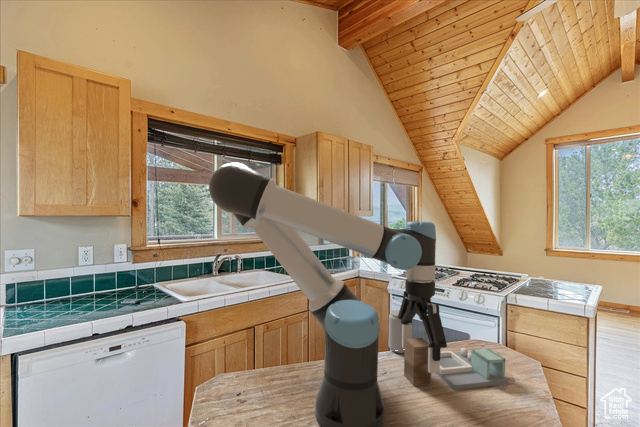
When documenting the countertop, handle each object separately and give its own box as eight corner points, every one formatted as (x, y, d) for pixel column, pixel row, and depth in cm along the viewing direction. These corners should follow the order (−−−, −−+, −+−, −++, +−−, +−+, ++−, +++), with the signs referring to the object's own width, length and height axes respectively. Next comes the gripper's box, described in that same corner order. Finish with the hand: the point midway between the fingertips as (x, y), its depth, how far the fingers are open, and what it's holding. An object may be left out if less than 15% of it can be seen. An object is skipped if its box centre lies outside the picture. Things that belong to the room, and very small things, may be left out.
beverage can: (409, 355, 94) (410, 317, 94) (388, 352, 96) (389, 315, 96) (407, 346, 101) (408, 310, 101) (388, 344, 102) (388, 308, 102)
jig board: (453, 390, 76) (453, 377, 76) (420, 359, 92) (420, 348, 92) (508, 383, 80) (508, 371, 80) (467, 355, 95) (467, 344, 95)
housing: (486, 378, 80) (487, 360, 79) (470, 366, 85) (471, 349, 85) (504, 376, 81) (505, 358, 81) (488, 365, 87) (488, 348, 87)
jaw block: (413, 385, 78) (414, 347, 78) (403, 375, 83) (405, 338, 83) (430, 383, 79) (431, 345, 79) (420, 373, 84) (421, 337, 84)
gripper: (463, 291, 69) (462, 383, 69) (409, 269, 94) (409, 337, 94) (434, 292, 68) (433, 387, 68) (387, 270, 92) (386, 339, 92)
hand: (419, 358), depth 81 cm, fingers open, 13 cm apart
